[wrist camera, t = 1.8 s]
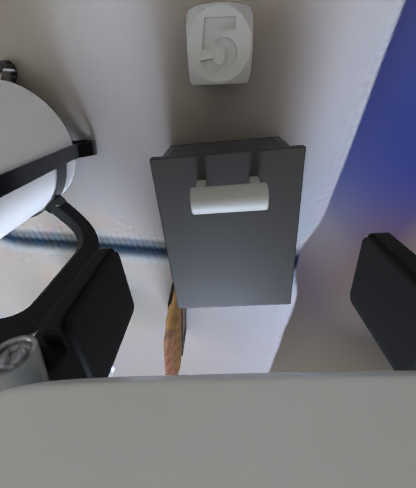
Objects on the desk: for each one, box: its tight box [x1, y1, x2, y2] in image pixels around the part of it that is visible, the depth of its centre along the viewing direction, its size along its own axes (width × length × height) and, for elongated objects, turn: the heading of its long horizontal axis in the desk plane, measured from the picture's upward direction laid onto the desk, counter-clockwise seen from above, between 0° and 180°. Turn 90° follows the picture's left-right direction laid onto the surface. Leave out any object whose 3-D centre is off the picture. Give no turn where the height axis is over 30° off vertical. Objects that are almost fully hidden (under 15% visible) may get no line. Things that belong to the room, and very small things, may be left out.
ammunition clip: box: [164, 283, 186, 375], centre depth 36 cm, size 11×2×12 cm, turn 177°
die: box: [186, 2, 253, 85], centre depth 22 cm, size 5×5×5 cm
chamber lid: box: [150, 145, 306, 308], centre depth 22 cm, size 15×12×5 cm
